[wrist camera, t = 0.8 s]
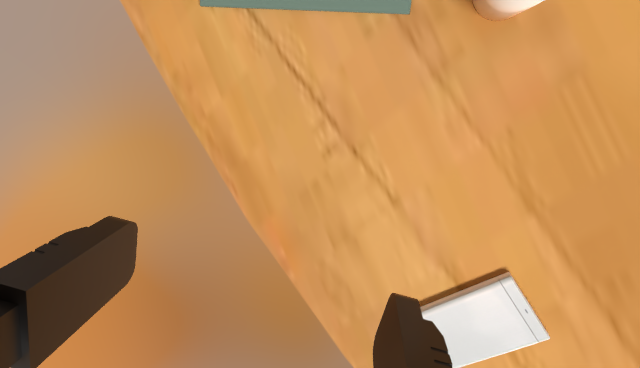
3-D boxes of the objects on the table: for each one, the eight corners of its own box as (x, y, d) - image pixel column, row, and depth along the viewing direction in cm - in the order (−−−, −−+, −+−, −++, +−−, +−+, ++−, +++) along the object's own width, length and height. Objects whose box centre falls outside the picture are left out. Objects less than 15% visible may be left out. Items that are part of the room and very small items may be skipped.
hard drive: (438, 375, 39) (552, 341, 35) (400, 320, 38) (511, 277, 34) (437, 364, 41) (546, 329, 36) (400, 311, 40) (507, 268, 35)
